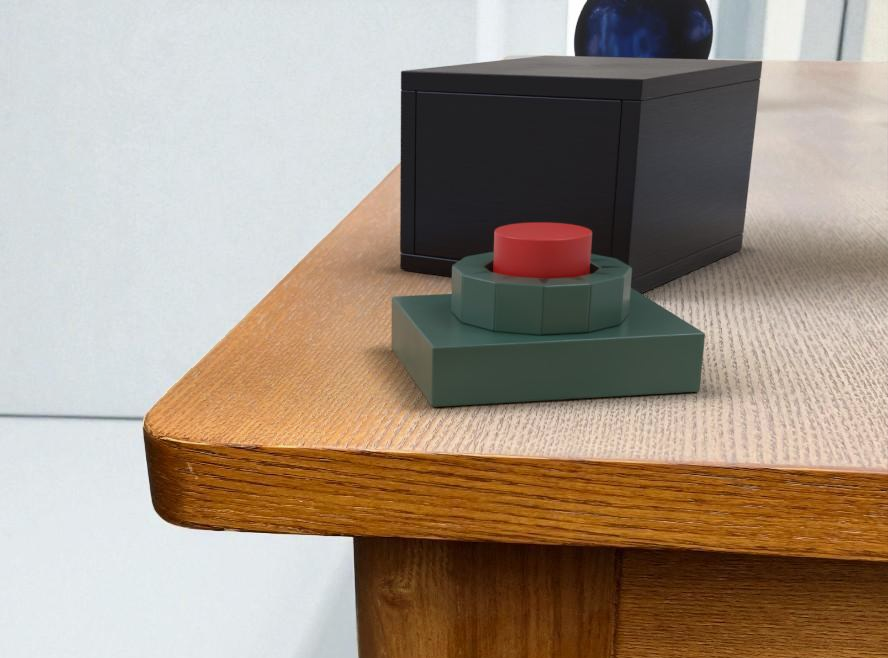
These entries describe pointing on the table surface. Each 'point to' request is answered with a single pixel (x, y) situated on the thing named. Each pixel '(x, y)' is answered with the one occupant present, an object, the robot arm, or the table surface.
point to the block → (542, 338)
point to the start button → (542, 250)
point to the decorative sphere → (644, 29)
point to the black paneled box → (579, 158)
